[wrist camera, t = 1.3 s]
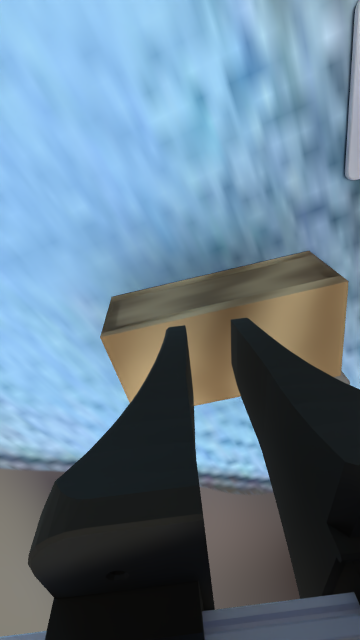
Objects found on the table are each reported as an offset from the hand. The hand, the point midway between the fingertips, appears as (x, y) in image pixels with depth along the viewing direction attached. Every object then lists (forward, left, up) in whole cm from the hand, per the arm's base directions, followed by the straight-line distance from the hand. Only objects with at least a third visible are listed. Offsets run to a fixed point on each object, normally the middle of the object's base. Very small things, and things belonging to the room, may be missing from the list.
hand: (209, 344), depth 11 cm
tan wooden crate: (-1, +5, -10) cm, 12 cm away
